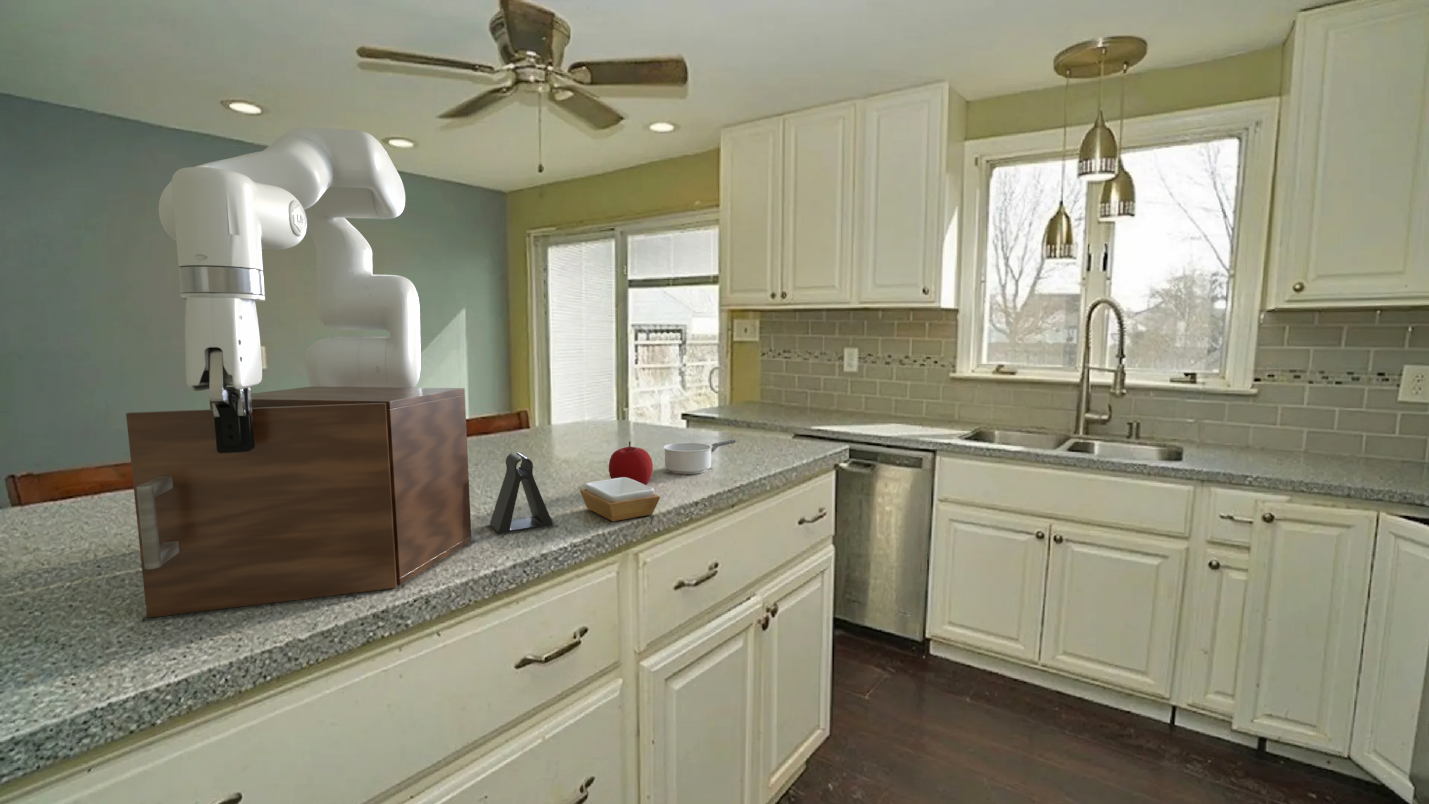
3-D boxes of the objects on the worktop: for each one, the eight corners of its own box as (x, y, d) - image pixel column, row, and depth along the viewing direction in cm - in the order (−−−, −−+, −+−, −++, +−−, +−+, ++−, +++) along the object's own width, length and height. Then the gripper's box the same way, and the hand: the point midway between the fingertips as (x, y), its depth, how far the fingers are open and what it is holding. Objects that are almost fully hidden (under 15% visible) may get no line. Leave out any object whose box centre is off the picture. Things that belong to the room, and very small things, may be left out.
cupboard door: (391, 604, 80) (379, 408, 77) (122, 639, 72) (99, 419, 69) (397, 585, 86) (386, 402, 84) (150, 614, 78) (130, 412, 75)
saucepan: (749, 465, 160) (750, 442, 159) (683, 478, 147) (683, 453, 147) (718, 458, 169) (718, 436, 168) (653, 469, 156) (653, 446, 155)
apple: (662, 486, 139) (661, 439, 138) (634, 496, 132) (633, 446, 131) (628, 481, 144) (627, 435, 143) (599, 490, 137) (598, 441, 136)
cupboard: (400, 585, 86) (389, 401, 84) (224, 574, 91) (209, 398, 88) (471, 541, 104) (464, 388, 101) (322, 534, 108) (311, 386, 106)
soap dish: (579, 509, 122) (578, 482, 122) (627, 501, 128) (626, 475, 127) (610, 525, 112) (609, 496, 112) (660, 516, 118) (660, 487, 117)
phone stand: (497, 534, 108) (494, 461, 106) (489, 525, 113) (486, 455, 111) (553, 526, 112) (550, 455, 111) (542, 517, 117) (540, 450, 116)
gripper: (205, 290, 79) (217, 443, 81) (153, 280, 65) (169, 465, 67) (279, 291, 82) (289, 440, 84) (244, 282, 68) (257, 460, 70)
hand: (236, 451), depth 75 cm, fingers closed
